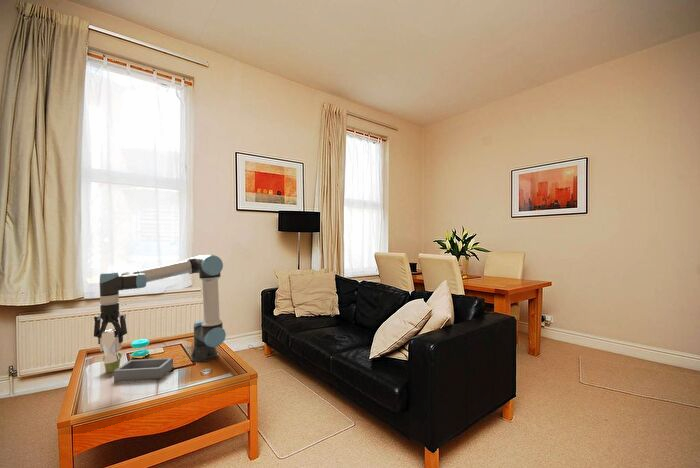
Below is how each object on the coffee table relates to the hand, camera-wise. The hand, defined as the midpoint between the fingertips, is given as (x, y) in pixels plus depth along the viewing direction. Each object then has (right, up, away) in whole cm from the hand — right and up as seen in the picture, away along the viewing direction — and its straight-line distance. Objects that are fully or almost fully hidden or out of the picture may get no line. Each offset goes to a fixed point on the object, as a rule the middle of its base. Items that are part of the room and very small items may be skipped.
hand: (111, 349), depth 163 cm
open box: (+5, -20, +18) cm, 28 cm away
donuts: (-15, -21, +47) cm, 54 cm away
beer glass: (+1, -6, 0) cm, 6 cm away
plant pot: (-17, -21, +25) cm, 37 cm away
